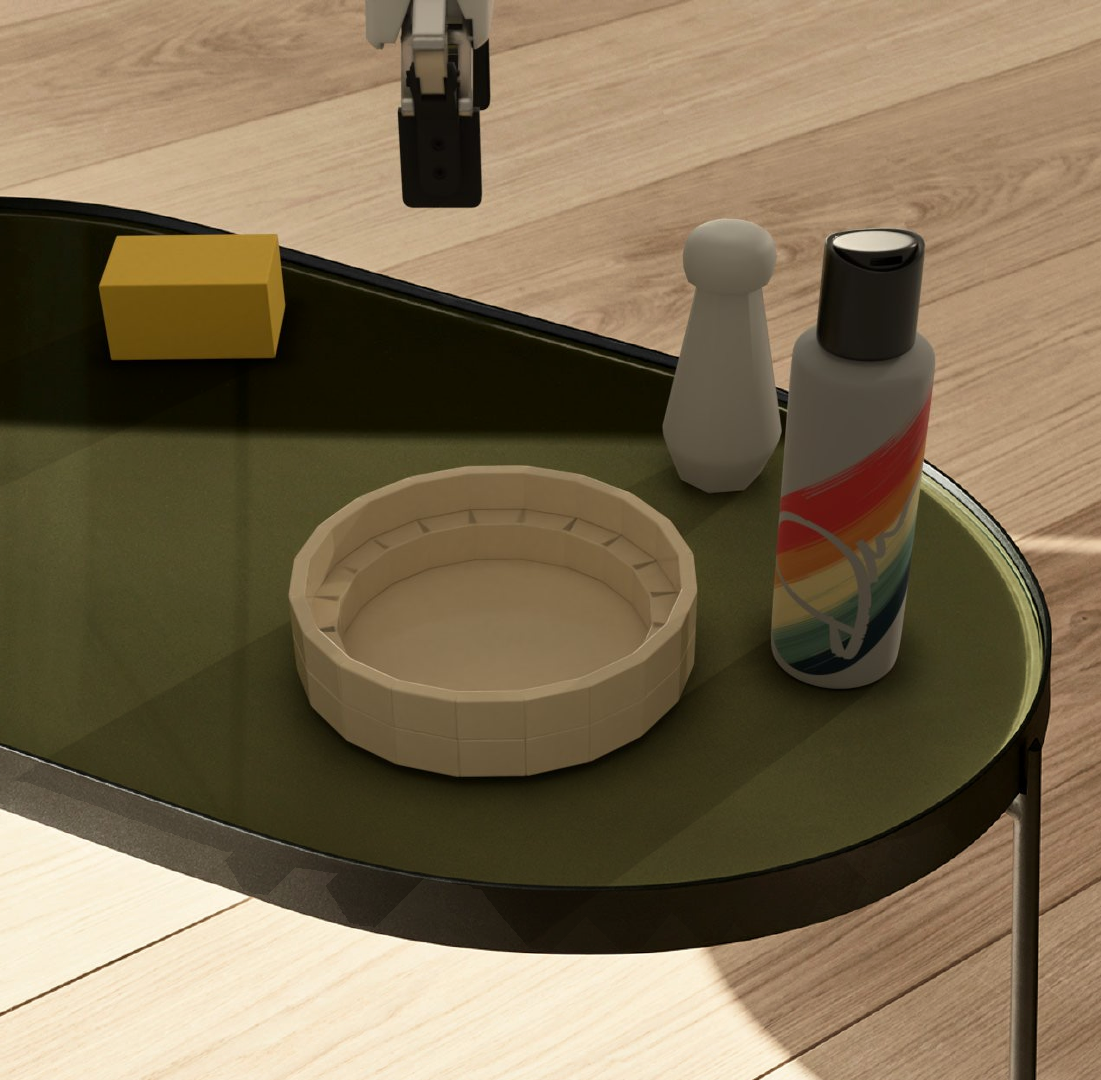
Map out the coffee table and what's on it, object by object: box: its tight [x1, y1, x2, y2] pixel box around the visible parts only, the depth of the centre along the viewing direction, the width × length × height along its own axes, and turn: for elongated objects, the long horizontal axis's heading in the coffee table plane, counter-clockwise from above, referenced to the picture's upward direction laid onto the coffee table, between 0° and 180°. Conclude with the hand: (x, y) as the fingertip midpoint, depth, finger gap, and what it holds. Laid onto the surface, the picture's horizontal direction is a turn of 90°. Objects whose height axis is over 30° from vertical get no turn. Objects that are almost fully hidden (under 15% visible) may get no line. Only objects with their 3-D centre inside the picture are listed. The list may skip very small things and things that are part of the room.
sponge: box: [98, 233, 286, 361], centre depth 110 cm, size 9×6×4 cm, turn 90°
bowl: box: [287, 464, 698, 778], centre depth 87 cm, size 17×17×4 cm
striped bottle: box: [770, 227, 936, 690], centre depth 82 cm, size 6×6×20 cm
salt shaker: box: [662, 218, 783, 494], centre depth 96 cm, size 6×6×13 cm
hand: (448, 154), depth 85 cm, fingers open, 9 cm apart
